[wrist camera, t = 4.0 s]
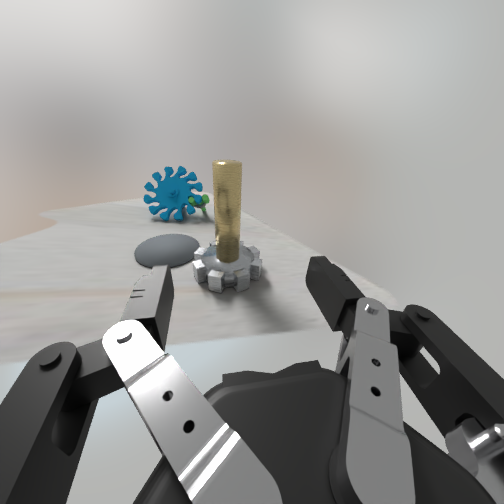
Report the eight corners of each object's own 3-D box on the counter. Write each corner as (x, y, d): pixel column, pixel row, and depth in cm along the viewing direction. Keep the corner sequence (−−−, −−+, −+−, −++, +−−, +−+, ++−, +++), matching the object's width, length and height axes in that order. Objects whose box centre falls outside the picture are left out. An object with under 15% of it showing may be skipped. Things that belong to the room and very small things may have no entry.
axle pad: (179, 273, 25) (179, 271, 24) (119, 260, 26) (119, 258, 26) (209, 241, 31) (209, 239, 31) (160, 232, 33) (159, 230, 32)
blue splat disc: (131, 209, 35) (154, 157, 37) (148, 222, 41) (167, 176, 43) (196, 227, 35) (215, 172, 37) (204, 237, 40) (220, 190, 42)
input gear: (250, 299, 22) (259, 176, 15) (181, 284, 23) (163, 165, 17) (266, 259, 28) (276, 160, 22) (211, 248, 29) (205, 152, 23)
